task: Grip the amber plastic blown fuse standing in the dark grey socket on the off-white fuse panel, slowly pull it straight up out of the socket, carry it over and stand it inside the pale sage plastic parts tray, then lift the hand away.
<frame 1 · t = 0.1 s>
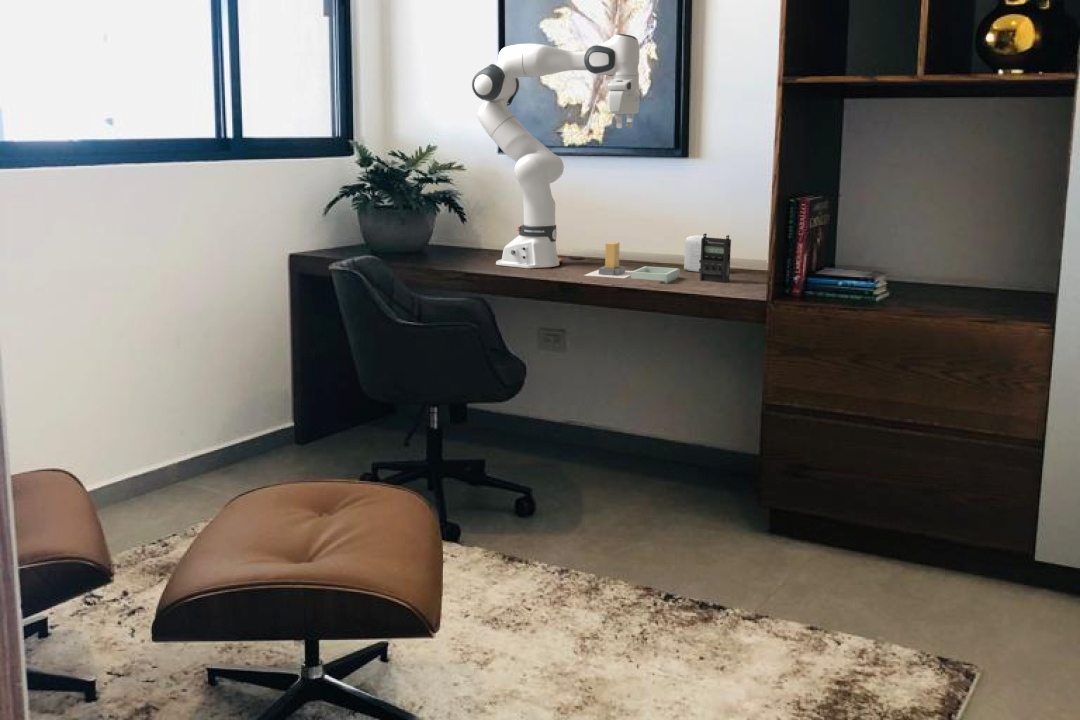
hand: (624, 127, 367), 48 cm above the table, fingers open, 8 cm apart
photo printer: (698, 272, 378), on the table
fuse panel: (611, 276, 366), on the table
parts tray: (655, 279, 360), on the table
blown fuse: (611, 273, 366), point 1 cm above the table, touching fuse panel
geiger counter: (713, 281, 358), on the table
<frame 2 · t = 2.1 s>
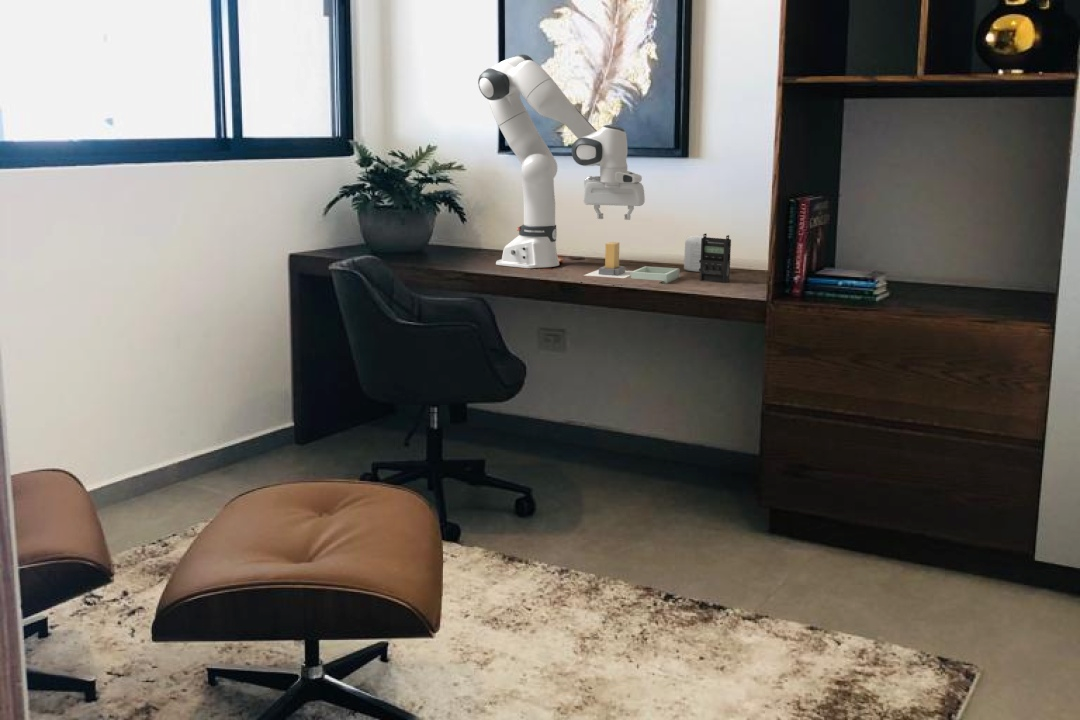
hand: (613, 219, 362), 19 cm above the table, fingers open, 8 cm apart
nothing on the table moved.
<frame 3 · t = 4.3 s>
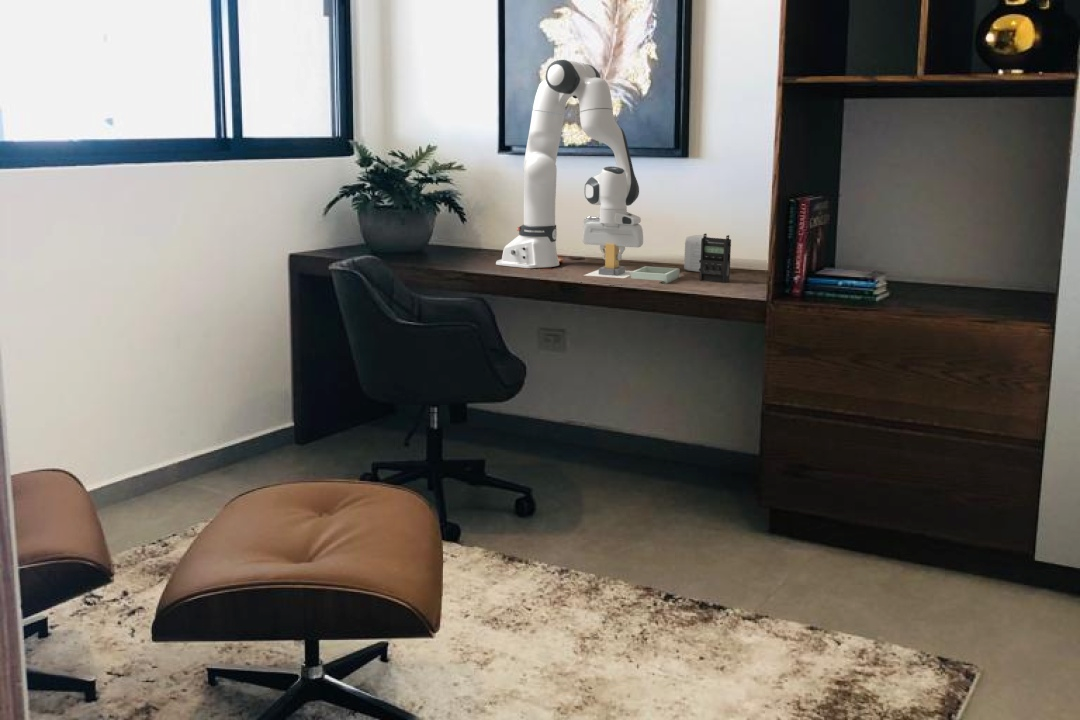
hand: (612, 259, 365), 6 cm above the table, fingers closed on blown fuse, 3 cm apart
blown fuse: (611, 273, 366), point 1 cm above the table, touching fuse panel, gripper
everything else where it was.
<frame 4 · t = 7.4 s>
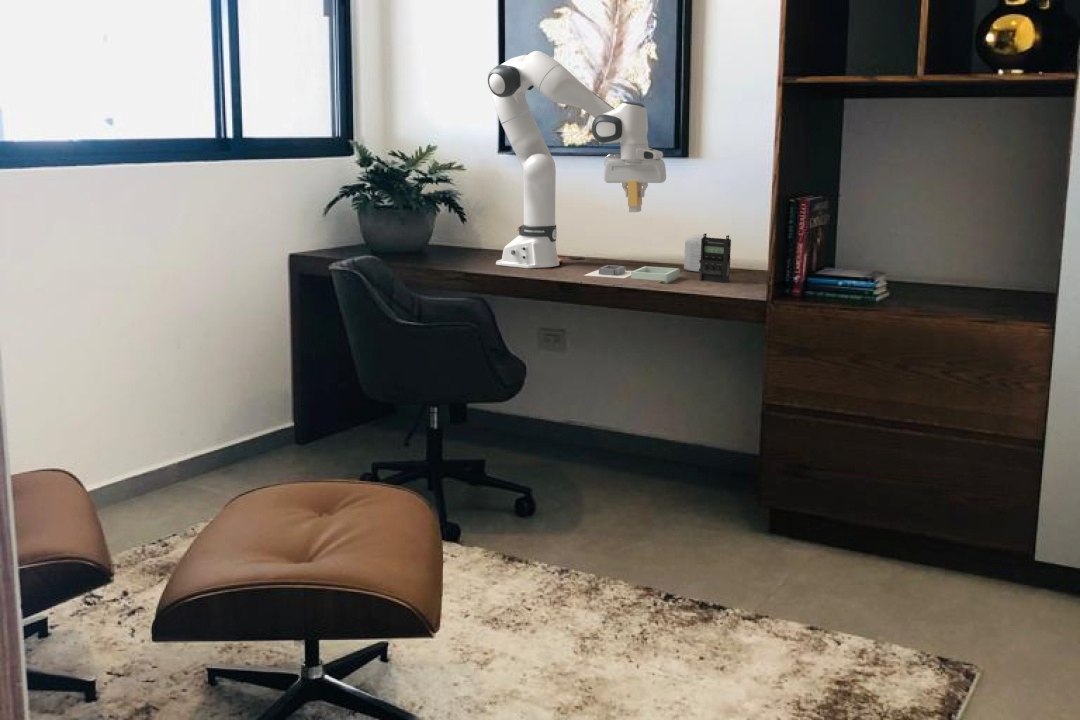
hand: (635, 197, 356), 26 cm above the table, fingers closed on blown fuse, 3 cm apart
blown fuse: (635, 211, 358), point 22 cm above the table, touching gripper
everything else where it was.
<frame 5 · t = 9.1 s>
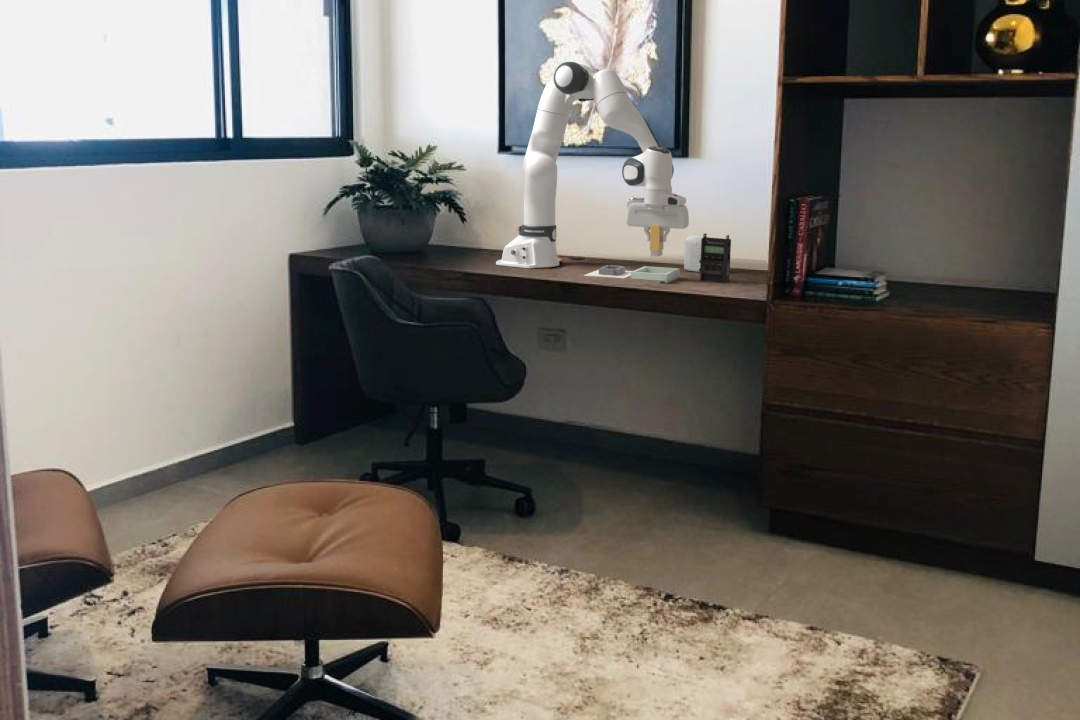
hand: (656, 241, 358), 12 cm above the table, fingers closed on blown fuse, 3 cm apart
blown fuse: (656, 255, 359), point 8 cm above the table, touching gripper
everything else where it was.
when the fingers open (7 cm above the table, at t = 10.6 s): blown fuse drops 1 cm, resting on parts tray.
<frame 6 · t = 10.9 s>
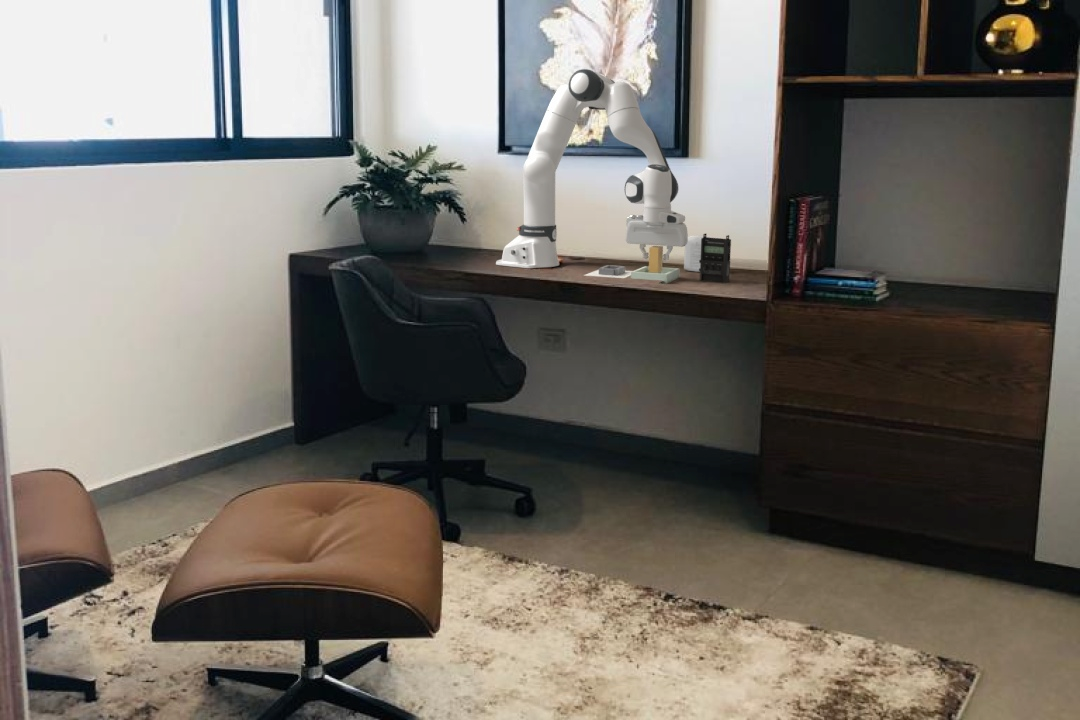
hand: (655, 258, 359), 7 cm above the table, fingers open, 5 cm apart
blown fuse: (655, 277, 360), point 1 cm above the table, touching parts tray
everything else where it was.
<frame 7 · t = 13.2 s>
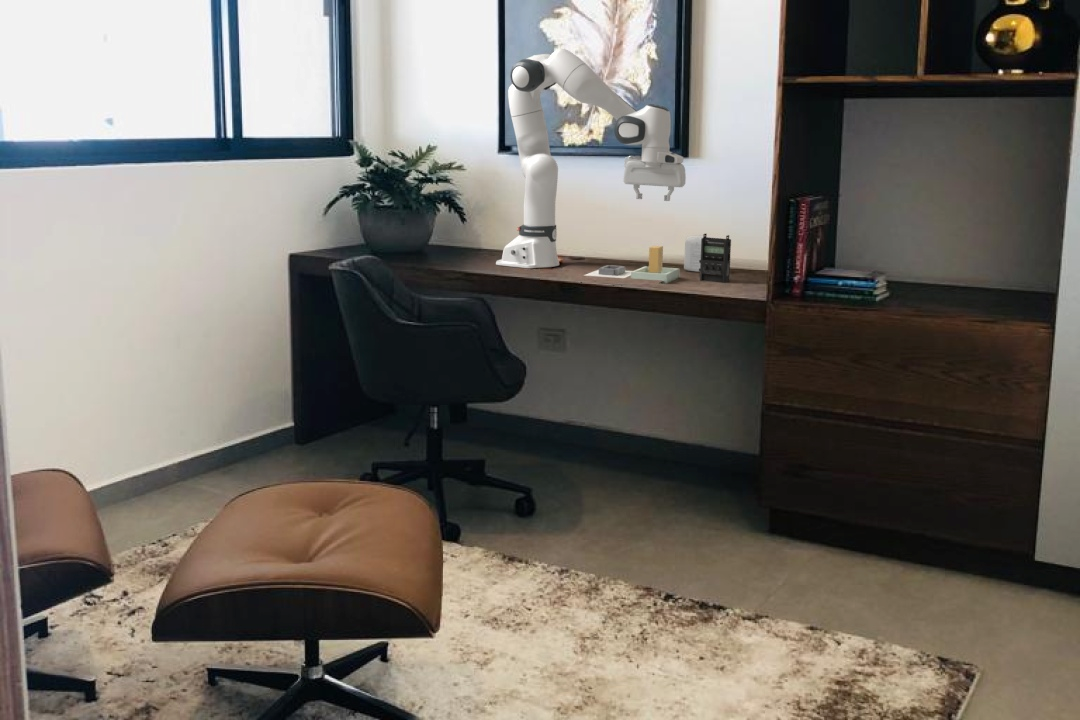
hand: (653, 199, 358), 25 cm above the table, fingers open, 8 cm apart
nothing on the table moved.
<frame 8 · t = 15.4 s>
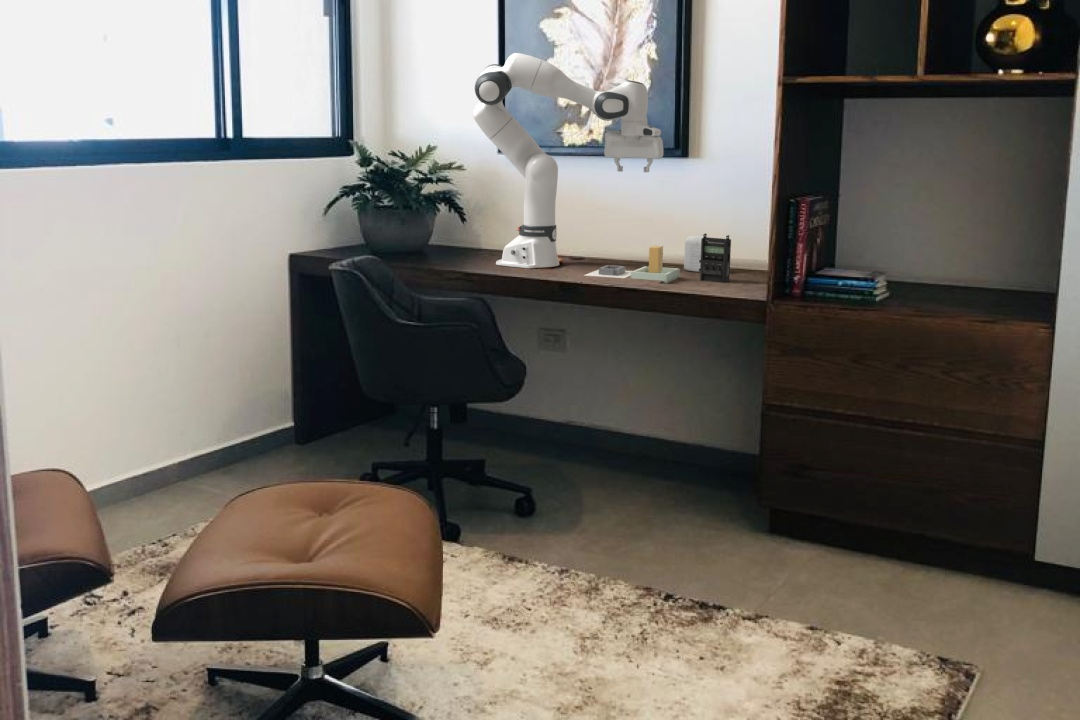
hand: (633, 171, 376), 33 cm above the table, fingers open, 8 cm apart
nothing on the table moved.
at the end: blown fuse inside the target area on the parts tray (0.1 cm from its centre), point 0.6 cm above the parts tray's base; blown fuse tilted 0°; the gripper is holding nothing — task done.
